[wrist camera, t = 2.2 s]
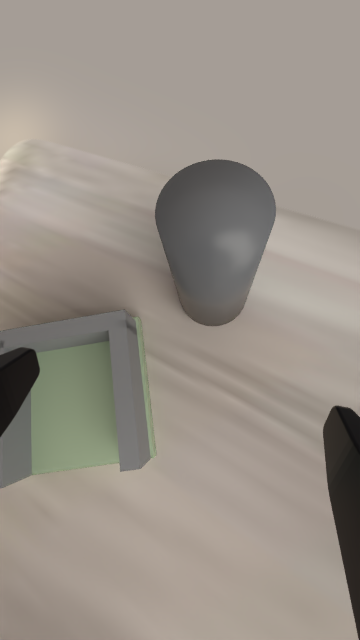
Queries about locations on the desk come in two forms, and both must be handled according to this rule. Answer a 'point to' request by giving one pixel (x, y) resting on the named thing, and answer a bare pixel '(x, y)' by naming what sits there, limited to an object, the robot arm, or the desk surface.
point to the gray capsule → (214, 235)
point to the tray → (80, 398)
